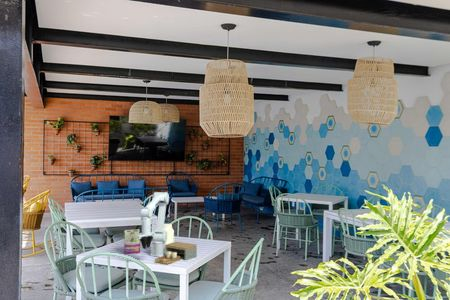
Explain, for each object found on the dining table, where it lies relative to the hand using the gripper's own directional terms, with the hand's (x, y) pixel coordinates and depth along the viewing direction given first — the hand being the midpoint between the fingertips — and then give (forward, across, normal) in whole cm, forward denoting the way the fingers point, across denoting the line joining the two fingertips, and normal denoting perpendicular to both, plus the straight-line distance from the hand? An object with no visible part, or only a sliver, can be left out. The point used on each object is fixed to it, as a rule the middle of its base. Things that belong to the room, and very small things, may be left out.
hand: (146, 248), depth 273 cm
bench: (+10, +25, -9) cm, 28 cm away
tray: (+10, +11, -9) cm, 17 cm away
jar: (+10, +52, +26) cm, 59 cm away
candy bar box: (+10, +16, +28) cm, 34 cm away
